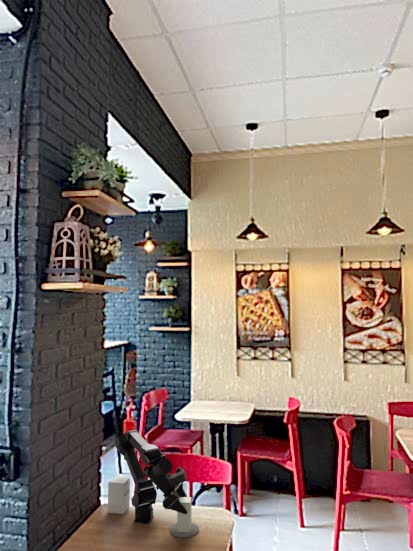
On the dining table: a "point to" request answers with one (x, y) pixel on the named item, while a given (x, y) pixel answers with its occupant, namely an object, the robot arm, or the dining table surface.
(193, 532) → the slate coaster
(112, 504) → the supplement box
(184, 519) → the block
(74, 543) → the dining table surface
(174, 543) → the dining table surface
